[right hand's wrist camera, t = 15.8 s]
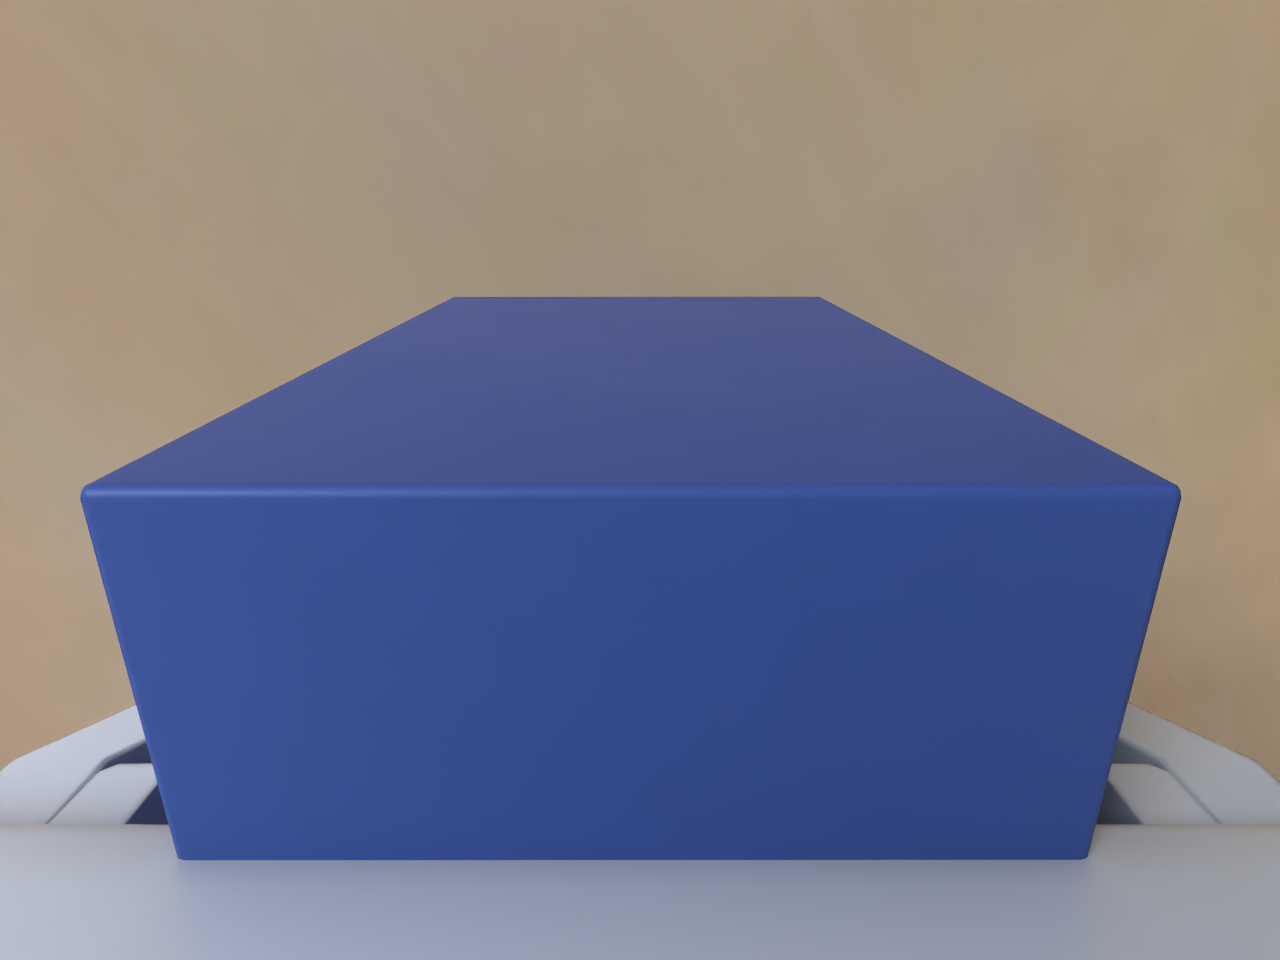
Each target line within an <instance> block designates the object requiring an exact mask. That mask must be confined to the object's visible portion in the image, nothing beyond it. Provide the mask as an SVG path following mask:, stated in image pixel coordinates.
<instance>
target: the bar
mask: <svg viewBox="0 0 1280 960" xmlns="http://www.w3.org/2000/svg"><path fill="white" fill-rule="evenodd" d="M80 499H81V503H82V507H83V510H84V514H85V518H86V521H87V525H88V529H89V532H90V536H91V540H92V543H93V547H94V551H95V555H96V558H97V562H98V566H99V569H100V573H101V577H102V580H103V584H104V588H105V591H106V595H107V599H108V603H109V606H110V610H111V614H112V617H113V621H114V625H115V628H116V632H117V636H118V639H119V643H120V647H121V651H122V654H123V658H124V662H125V665H126V669H127V673H128V676H129V680H130V684H131V687H132V691H133V695H134V699H135V702H136V706H137V710H138V713H139V717H140V721H141V724H142V728H143V732H144V736H145V739H146V743H147V747H148V750H149V754H150V758H151V761H152V765H153V769H154V772H155V776H156V780H157V784H158V787H159V791H160V795H161V798H162V802H163V806H164V809H165V813H166V817H167V820H168V824H169V828H170V832H171V835H172V839H173V843H174V846H175V850H176V854H177V857H178V858H179V859H182V860H1082V859H1085V858H1087V857H1088V853H1089V849H1090V846H1091V842H1092V838H1093V834H1094V830H1095V826H1096V823H1097V819H1098V815H1099V811H1100V807H1101V803H1102V800H1103V796H1104V792H1105V788H1106V784H1107V780H1108V777H1109V773H1110V769H1111V765H1112V761H1113V757H1114V754H1115V750H1116V746H1117V742H1118V738H1119V734H1120V731H1121V727H1122V723H1123V719H1124V715H1125V711H1126V708H1127V704H1128V700H1129V696H1130V692H1131V688H1132V685H1133V681H1134V677H1135V673H1136V669H1137V665H1138V662H1139V658H1140V654H1141V650H1142V646H1143V642H1144V639H1145V635H1146V631H1147V627H1148V623H1149V619H1150V616H1151V612H1152V608H1153V604H1154V600H1155V596H1156V593H1157V589H1158V585H1159V581H1160V577H1161V573H1162V570H1163V566H1164V562H1165V558H1166V554H1167V550H1168V547H1169V543H1170V539H1171V535H1172V531H1173V527H1174V524H1175V520H1176V516H1177V512H1178V508H1179V504H1180V501H1181V493H1180V489H1179V488H1178V486H1177V485H1175V484H1173V483H1171V482H1169V481H1167V480H1166V479H1164V478H1162V477H1160V476H1158V475H1156V474H1154V473H1152V472H1150V471H1149V470H1147V469H1145V468H1143V467H1141V466H1139V465H1137V464H1135V463H1133V462H1131V461H1130V460H1128V459H1126V458H1124V457H1122V456H1120V455H1118V454H1116V453H1114V452H1112V451H1111V450H1109V449H1107V448H1105V447H1103V446H1101V445H1099V444H1097V443H1095V442H1094V441H1092V440H1090V439H1088V438H1086V437H1084V436H1082V435H1080V434H1078V433H1076V432H1075V431H1073V430H1071V429H1069V428H1067V427H1065V426H1063V425H1061V424H1059V423H1057V422H1056V421H1054V420H1052V419H1050V418H1048V417H1046V416H1044V415H1042V414H1040V413H1038V412H1037V411H1035V410H1033V409H1031V408H1029V407H1027V406H1025V405H1023V404H1021V403H1020V402H1018V401H1016V400H1014V399H1012V398H1010V397H1008V396H1006V395H1004V394H1002V393H1001V392H999V391H997V390H995V389H993V388H991V387H989V386H987V385H985V384H983V383H982V382H980V381H978V380H976V379H974V378H972V377H970V376H968V375H966V374H965V373H963V372H961V371H959V370H957V369H955V368H953V367H951V366H949V365H947V364H946V363H944V362H942V361H940V360H938V359H936V358H934V357H932V356H930V355H928V354H927V353H925V352H923V351H921V350H919V349H917V348H915V347H913V346H911V345H910V344H908V343H906V342H904V341H902V340H900V339H898V338H896V337H894V336H892V335H891V334H889V333H887V332H885V331H883V330H881V329H879V328H877V327H875V326H873V325H872V324H870V323H868V322H866V321H864V320H862V319H860V318H858V317H856V316H854V315H853V314H851V313H849V312H847V311H845V310H843V309H841V308H839V307H837V306H836V305H834V304H832V303H830V302H828V301H826V300H824V299H822V298H820V297H454V298H451V299H449V300H447V301H445V302H443V303H441V304H440V305H438V306H436V307H434V308H432V309H430V310H428V311H426V312H424V313H422V314H420V315H418V316H416V317H414V318H412V319H410V320H408V321H406V322H404V323H402V324H400V325H399V326H397V327H395V328H393V329H391V330H389V331H387V332H385V333H383V334H381V335H379V336H377V337H375V338H373V339H371V340H369V341H367V342H365V343H363V344H361V345H359V346H358V347H356V348H354V349H352V350H350V351H348V352H346V353H344V354H342V355H340V356H338V357H336V358H334V359H332V360H330V361H328V362H326V363H324V364H322V365H320V366H318V367H317V368H315V369H313V370H311V371H309V372H307V373H305V374H303V375H301V376H299V377H297V378H295V379H293V380H291V381H289V382H287V383H285V384H283V385H281V386H279V387H277V388H276V389H274V390H272V391H270V392H268V393H266V394H264V395H262V396H260V397H258V398H256V399H254V400H252V401H250V402H248V403H246V404H244V405H242V406H240V407H238V408H236V409H235V410H233V411H231V412H229V413H227V414H225V415H223V416H221V417H219V418H217V419H215V420H213V421H211V422H209V423H207V424H205V425H203V426H201V427H199V428H197V429H195V430H194V431H192V432H190V433H188V434H186V435H184V436H182V437H180V438H178V439H176V440H174V441H172V442H170V443H168V444H166V445H164V446H162V447H160V448H158V449H156V450H154V451H153V452H151V453H149V454H147V455H145V456H143V457H141V458H139V459H137V460H135V461H133V462H131V463H129V464H127V465H125V466H123V467H121V468H119V469H117V470H115V471H113V472H112V473H110V474H108V475H106V476H104V477H102V478H100V479H98V480H96V481H94V482H92V483H90V484H88V485H86V486H84V488H83V489H82V491H81V498H80Z"/></svg>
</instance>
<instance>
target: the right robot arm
mask: <svg viewBox="0 0 1280 960" xmlns="http://www.w3.org/2000/svg"><path fill="white" fill-rule="evenodd" d="M0 960H1280V781H1278V780H1277V779H1276V778H1275V777H1274V776H1273V775H1272V774H1271V773H1270V772H1269V771H1267V770H1266V769H1265V768H1264V767H1263V766H1262V765H1261V764H1260V763H1259V762H1258V761H1255V760H1253V759H1251V758H1249V757H1247V756H1245V755H1242V754H1240V753H1238V752H1236V751H1234V750H1231V749H1229V748H1227V747H1225V746H1223V745H1220V744H1218V743H1216V742H1214V741H1212V740H1209V739H1207V738H1205V737H1203V736H1201V735H1198V734H1196V733H1194V732H1192V731H1190V730H1187V729H1185V728H1183V727H1181V726H1179V725H1176V724H1174V723H1172V722H1170V721H1168V720H1166V719H1163V718H1161V717H1159V716H1157V715H1155V714H1152V713H1150V712H1148V711H1146V710H1144V709H1141V708H1139V707H1137V706H1135V705H1133V704H1130V703H1128V704H1127V708H1126V711H1125V715H1124V719H1123V723H1122V727H1121V731H1120V734H1119V738H1118V742H1117V746H1116V750H1115V754H1114V757H1113V761H1112V765H1111V769H1110V773H1109V777H1108V780H1107V784H1106V788H1105V792H1104V796H1103V800H1102V803H1101V807H1100V811H1099V815H1098V819H1097V823H1096V826H1095V830H1094V834H1093V838H1092V842H1091V846H1090V849H1089V853H1088V857H1087V858H1085V859H1082V860H182V859H179V858H178V857H177V854H176V850H175V846H174V843H173V839H172V835H171V832H170V828H169V824H168V820H167V817H166V813H165V809H164V806H163V802H162V798H161V795H160V791H159V787H158V784H157V780H156V776H155V772H154V769H153V765H152V761H151V758H150V754H149V750H148V747H147V743H146V739H145V736H144V732H143V728H142V724H141V721H140V717H139V713H138V710H137V706H136V705H135V706H133V707H131V708H128V709H126V710H124V711H122V712H119V713H117V714H115V715H113V716H111V717H108V718H106V719H104V720H102V721H99V722H97V723H95V724H93V725H91V726H88V727H86V728H84V729H82V730H79V731H77V732H75V733H73V734H71V735H68V736H66V737H64V738H62V739H59V740H57V741H55V742H53V743H51V744H48V745H46V746H44V747H42V748H39V749H37V750H35V751H33V752H31V753H28V754H26V755H24V756H22V757H19V758H17V759H15V760H13V761H12V762H11V763H10V764H8V765H7V766H6V767H5V768H4V769H3V770H2V771H1V772H0Z"/></svg>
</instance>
